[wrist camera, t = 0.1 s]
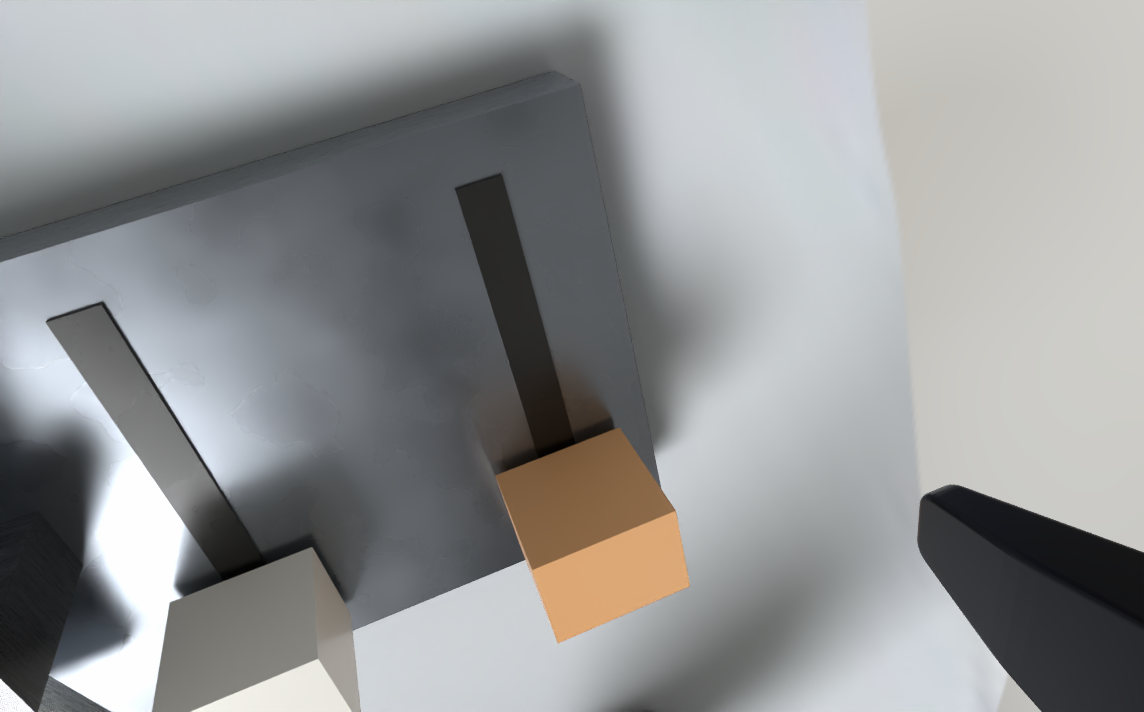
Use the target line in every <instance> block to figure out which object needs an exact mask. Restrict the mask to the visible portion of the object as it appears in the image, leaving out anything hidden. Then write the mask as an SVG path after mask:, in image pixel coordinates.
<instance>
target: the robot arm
mask: <svg viewBox="0 0 1144 712" xmlns="http://www.w3.org/2000/svg"><path fill="white" fill-rule="evenodd" d="M917 542H918V547H919V550H920V553H921V555H922V557H923V558H924V560H925V562H926V563H927V564H928V566H929V567H930V568H931V570H932V571H933V573H934V574H935V575H936V577H937V578H938V579H939V581H940V582H941V584H942V585H943V586H944V588H945V589H946V591H947V592H948V593H949V595H950V596H951V597H952V599H953V600H954V602H955V603H956V604H957V606H958V607H959V608H960V610H961V611H962V613H963V614H964V615H965V617H966V618H967V619H968V621H969V622H970V624H971V625H972V626H973V628H974V629H975V631H976V632H977V633H978V635H979V636H980V637H981V639H982V640H983V642H984V643H985V644H986V646H987V647H988V648H989V650H990V651H991V652H992V654H993V655H994V656H995V658H996V659H997V660H998V661H999V663H1000V664H1001V665H1002V667H1003V668H1004V669H1005V670H1006V671H1007V673H1008V674H1009V675H1010V676H1011V677H1012V678H1013V680H1014V681H1015V682H1016V683H1017V684H1018V685H1019V686H1020V688H1021V689H1022V690H1023V691H1024V692H1025V693H1026V694H1027V695H1028V697H1029V698H1030V699H1031V700H1032V701H1033V702H1034V704H1035V705H1036V706H1037V707H1038V708H1039V709H1040V710H1041V711H1042V712H1144V552H1141V551H1138V550H1136V549H1133V548H1130V547H1127V546H1125V545H1122V544H1119V543H1116V542H1113V541H1111V540H1108V539H1105V538H1103V537H1100V536H1097V535H1094V534H1092V533H1089V532H1086V531H1083V530H1081V529H1077V528H1075V527H1072V526H1069V525H1067V524H1064V523H1061V522H1059V521H1056V520H1053V519H1050V518H1048V517H1044V516H1042V515H1039V514H1037V513H1034V512H1031V511H1028V510H1025V509H1023V508H1020V507H1017V506H1015V505H1012V504H1009V503H1006V502H1003V501H1001V500H998V499H995V498H992V497H989V496H987V495H984V494H981V493H978V492H976V491H973V490H970V489H968V488H965V487H962V486H959V485H947V486H944V487H941V488H939V489H937V490H934V491H932V492H929V493H927V494H925V495H924V496H923V497H922V499H921V501H920V508H919V522H918V536H917Z"/></svg>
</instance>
